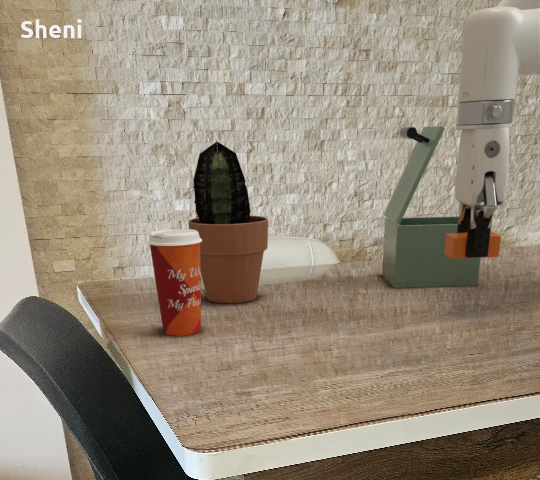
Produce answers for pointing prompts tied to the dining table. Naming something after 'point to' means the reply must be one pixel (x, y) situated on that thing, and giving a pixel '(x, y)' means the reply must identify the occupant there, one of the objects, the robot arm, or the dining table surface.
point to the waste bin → (424, 254)
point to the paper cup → (177, 279)
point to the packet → (457, 245)
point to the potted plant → (227, 228)
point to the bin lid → (413, 169)
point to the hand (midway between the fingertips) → (471, 252)
